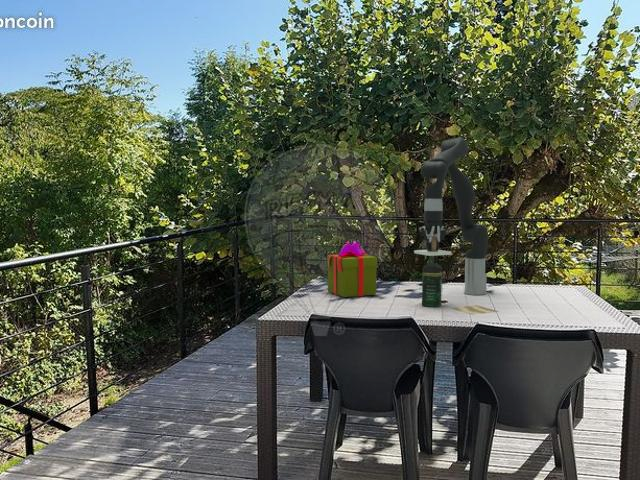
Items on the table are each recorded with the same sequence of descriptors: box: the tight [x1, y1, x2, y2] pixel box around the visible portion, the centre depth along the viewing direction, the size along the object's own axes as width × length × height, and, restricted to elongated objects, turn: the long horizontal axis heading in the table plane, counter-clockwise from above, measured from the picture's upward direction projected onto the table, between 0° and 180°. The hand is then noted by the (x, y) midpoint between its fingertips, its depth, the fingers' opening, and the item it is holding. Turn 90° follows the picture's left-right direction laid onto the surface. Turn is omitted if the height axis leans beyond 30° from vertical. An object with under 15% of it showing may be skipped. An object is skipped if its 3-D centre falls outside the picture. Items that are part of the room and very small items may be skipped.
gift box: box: [326, 241, 378, 298], centre depth 273 cm, size 21×21×25 cm
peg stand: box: [413, 238, 453, 257], centre depth 241 cm, size 11×11×6 cm
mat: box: [450, 304, 500, 315], centre depth 233 cm, size 14×14×1 cm
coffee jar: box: [421, 262, 443, 309], centre depth 242 cm, size 10×8×19 cm
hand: (432, 250), depth 241 cm, fingers closed on peg stand, 3 cm apart
